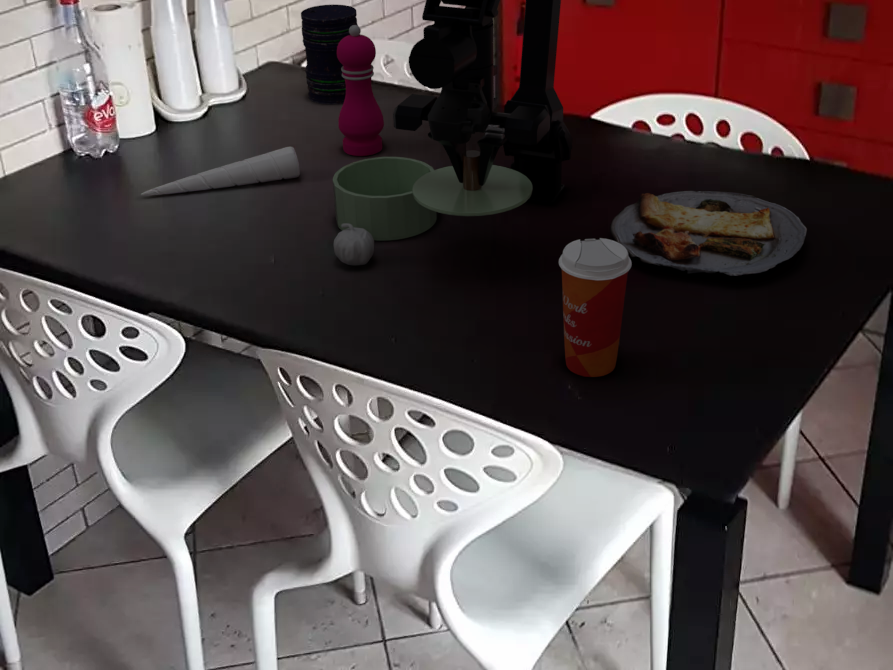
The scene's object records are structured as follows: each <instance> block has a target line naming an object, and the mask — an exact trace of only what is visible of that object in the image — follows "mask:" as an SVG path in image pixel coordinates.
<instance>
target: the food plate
mask: <svg viewBox="0 0 893 670" xmlns="http://www.w3.org/2000/svg"><path fill="white" fill-rule="evenodd" d="M609 225H610V226H609V232H610V234H611V236H612V238H613V239H614V241H616V242H618V243H620V244H622V245H623V246H624V247H625V248H626V249H627V251H628V256H629V257H630V258H635V257H638V258H639V261H641V262H642V263H644V264H653V265H655V266H656V265H657V266H658V267H661V266H663V267H670V268H673V269H676V270H678V271H681V272H684V271H686V274H687V275H688V274H698V273H707V274H716V273H717V272H719V274H725V275H727V276H730V277H732V276H736V277H738V276H742V275H751V274H761V273H764V272H767V271H769V269H773V268H775V267H776V266H777V265H778V264H782V263H783V262H785V261H788V260H789V259H791V258H792V257H794V256H795V255H796V254H797V253H798V252H799V251H801V249H802V247H803V245H804V243H805V239H806V236H807V231H808V228H807V227H806V225H805V224H804V223H803V222H802V221H801V219H800V217H799V216H797V215H796V214H795V213H794V212H793V211H791V210H789V209H788V208H786V207H785V206H782V205H780V204H777V203H775V202H769V201H768V200H764V199H761V198H759V197H756V196H754V195H751V194H745V193H739V192H731V191H729V192H727V191H713V190H710V191H709V190H698V191H695V190H684V191H683V190H682V191H673V192H666V193H665V192H664V193H662V194H658V195H654V194H652V193H651V192H646V193H641V194H640V196H639V198H638V200H637V201H636V202H634V203H631V204H629V205H627V206H624V208H623V209H622V210H620V211H619V212H618V214H616V216H614V217H613V218H612V220H611V223H610V224H609Z"/></svg>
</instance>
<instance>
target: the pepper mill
mask: <svg viewBox="0 0 893 670" xmlns="http://www.w3.org/2000/svg"><path fill="white" fill-rule="evenodd" d="M361 32H362V30H361V28H360V26H359V25H358V26H357V25H352V26H351V27H350V28H349V33H350V35H348V36H346V37H344V38H343V39H342V40H341V41H340V42H339V44H338V46H337V58H338V60H339V61H340V63H341V64H342V65H343V66H342V68H341V71H342V77H343V78H345V83H346V96H345V100H344V103H342V106H341V108H340V111H339V115H338V123H337V124H338V130H339V131H340V133H341V134H342V135H343V136H344V137H343V138H342V149H343V152H344V153H345V154H346V155H349V156H352V157H367V156H373V155H375V154H378V153H380V152H381V151H382V150H383V137H382V136H381V135H380V133H381V132H382V131H383V129H384V126H385V121H384V120H385V119H384V115H383V112H382V110H381V108H380V105H379V103H378V102H377V99H376V97H375V95H374V92H373V91H374V90H373V86H372V77H374V75H375V72H374V69H375V67H374V65H373V64H372V63H373V62H374V61H375V59H376V55H377V49H376V47H375V46H376V45H375V43H374V41H373V40H372V39H371V38H370V37H369V36H366V35H364V34H361Z"/></svg>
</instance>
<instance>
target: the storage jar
mask: <svg viewBox="0 0 893 670" xmlns="http://www.w3.org/2000/svg"><path fill="white" fill-rule="evenodd" d="M357 15H358V14H357V9H356V8H355V7H353V6H351V5H347V4H346V5H345V4H319V5H314V6H310V7H308V8H305V9H303V10H302V11H301V12H300V18H301V35H302V43H303V46H304V48H305V49H304V50H305V59H306V65H305V75H306V76H305V81H306V85H307V90H308V93H307V95H308V99H309V100H310V101H311V102H314V103H317V104H321V105H340V104H341V105H343V103H344V100H345V96H346V83H345V78H343V77H342V71H341V68H342V66H343V65H342V64H341V63H340V61H339V60H338V58H337V46H338V44H339V42H340V41H341V40H342V39H343V38H344V37H346V36H348V35H350V33H349V28H350V27H351V26H352V25H357V26H359V25H358V19H357Z"/></svg>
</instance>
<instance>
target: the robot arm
mask: <svg viewBox="0 0 893 670" xmlns="http://www.w3.org/2000/svg"><path fill="white" fill-rule="evenodd" d="M500 2H501V0H425V3H424V8H423V11H422V16H421V19H422V21H428V22H433V23H432V24H429V25H426V26H425V27H423V38H421V39H420V40H418V41H417V42H415V44H414V45H413V46H412V48H411V50H410V53H409V56H408V66H409V69H410V72H411V74H412V76H413V78H414V79H415V80H416V81H417V82H418V83H419V84H420V85H422V86H423V87H425V88H428V89H430V90H431V89H432V90H439V89H441V90H440V93H439V96H438V97H437V96H435V95H426V94H416V93H411V94H409V95H408V96H407V97H406V98H405V99H403V100H402V101H401V102H400V103H399V104H398V105H396V106H395V107H394V110H393V113H392V119H393V128H395V130H402V131H411V132H416V131H417V130H418V129H419V128H420V127H421V126H422V125H423V121H425V122H428V126H429V132H428V133H427V137H428V138H429V139H431V140H433V141H435V142H438V143H439V144H441V146H442V148H443V149H444V151H445V152H446V154H447V156H448V159H449V160H450V163H451V166H453V168H454V171H455V173H456V176H457V178H458V180H459V182H460V183H463V171H462V153H463V152H465V151H467V143H468V142H469V141H470V140H471V139H472V136H473V135H475V134H476V133H481V134H483V136H481V137H480V138H479V139H478V140H477V141H476V142H477V145H478V147H479V152H480V164H479V183H480V186H483V185H484V184H485V183H486V180H487V177H488V175H489V172H490V170H491V167H492V165H494V162H495V159H496V156H497V153H498V152H499V149H500V148H501V147H502V146H503V151H504V156H507V157H513V162H512V163H511V164H510V169H513V170H515V171H518V172H520V173H522V174H523V175H525V176H526V177H527V178H528V179H529V180H530V181H531V183H532V195H531V196H530V198H529V199H528V200H527V201H526V202H528V203H536V204H543V205H553V204H554V203H555V202H556V201H557V199H558V198H559V197H560V196H561V194H562V193H563V191H564V190H565V188H566V187H565V184H563V183H562V166H563V163H562V162H566V161H569V160H571V156H572V154H571V153H572V150H573V142H574V141H573V139H574V137H573V136H572V134H571V133H570V130H569V129H568V127H567V125H566V123H565V122H564V106H563V104H562V101H561V100H560V97H559V96H558V93H557V92H556V90H555V88H554V87H555V75H556V65H557V64H556V63H557V53H558V41H559V30H560V29H559V28H560V17H561V6H562V5H561V3H562V0H525V4H524V16H523V17H524V18H523V32H522V44H521V45H522V47H521V59H520V71H519V84H518V88H517V90H516V91H515V92H514V94H513V95H512V96H511V98H510V99H508V100H507V101H506V102H505V104H504V107H503V109H504V110H503V111H504V112H495V109H496V108H497V107H498V97H495V77H496V75H497V74H498V65H496V64H495V47H494V45H495V44H494V43H495V41H494V40H495V39H494V35H495V33H494V19H495V17H497V16H498V15H499V10H498V7H499V5H500ZM441 3H442V4H443V5H441ZM447 5H451V6H447ZM457 6H460V7H457Z"/></svg>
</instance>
